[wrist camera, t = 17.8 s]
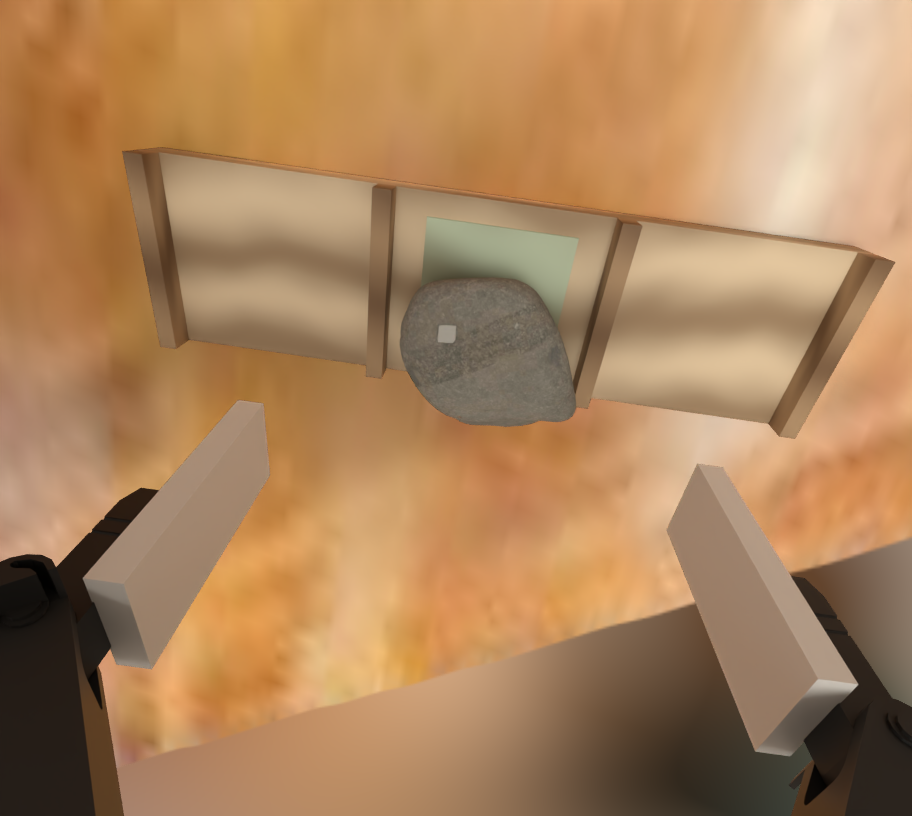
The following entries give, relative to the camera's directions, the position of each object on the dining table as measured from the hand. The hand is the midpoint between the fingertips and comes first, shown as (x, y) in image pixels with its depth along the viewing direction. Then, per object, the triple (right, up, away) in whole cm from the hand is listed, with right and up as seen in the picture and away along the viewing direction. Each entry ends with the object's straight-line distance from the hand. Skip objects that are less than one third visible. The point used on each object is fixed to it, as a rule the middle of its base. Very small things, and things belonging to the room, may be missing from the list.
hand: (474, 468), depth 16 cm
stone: (+2, +6, +16) cm, 17 cm away
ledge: (+2, +9, +16) cm, 19 cm away
